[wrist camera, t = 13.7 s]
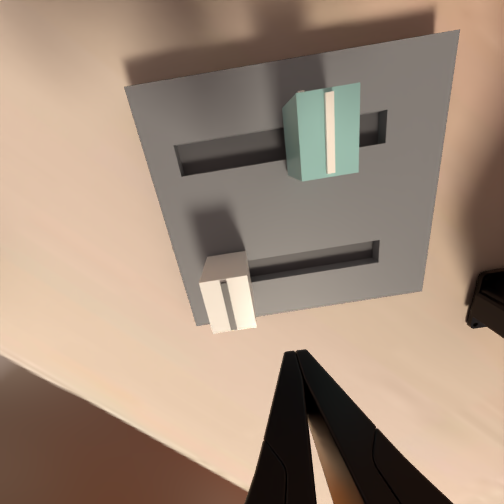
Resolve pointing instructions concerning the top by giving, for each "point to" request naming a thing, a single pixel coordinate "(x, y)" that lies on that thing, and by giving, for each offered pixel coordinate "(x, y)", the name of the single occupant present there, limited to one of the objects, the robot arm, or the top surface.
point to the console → (295, 191)
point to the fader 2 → (322, 132)
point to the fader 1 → (228, 292)
